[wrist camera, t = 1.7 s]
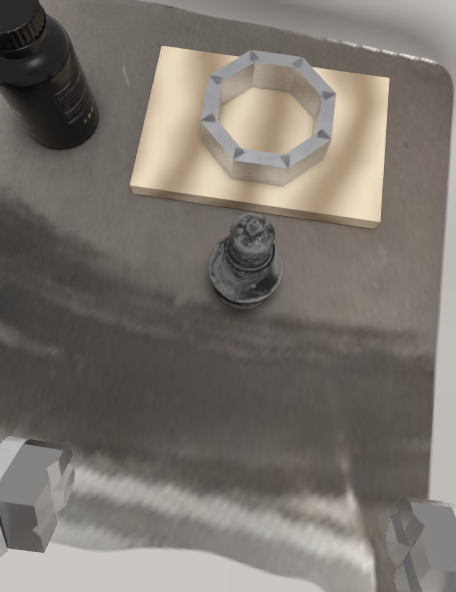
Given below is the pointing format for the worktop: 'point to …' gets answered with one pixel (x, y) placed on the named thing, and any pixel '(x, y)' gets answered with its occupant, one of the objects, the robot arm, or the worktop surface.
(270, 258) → the dark grey turned piece
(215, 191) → the carrier plate
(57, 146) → the supplement bottle
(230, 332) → the worktop surface
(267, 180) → the metal collar
